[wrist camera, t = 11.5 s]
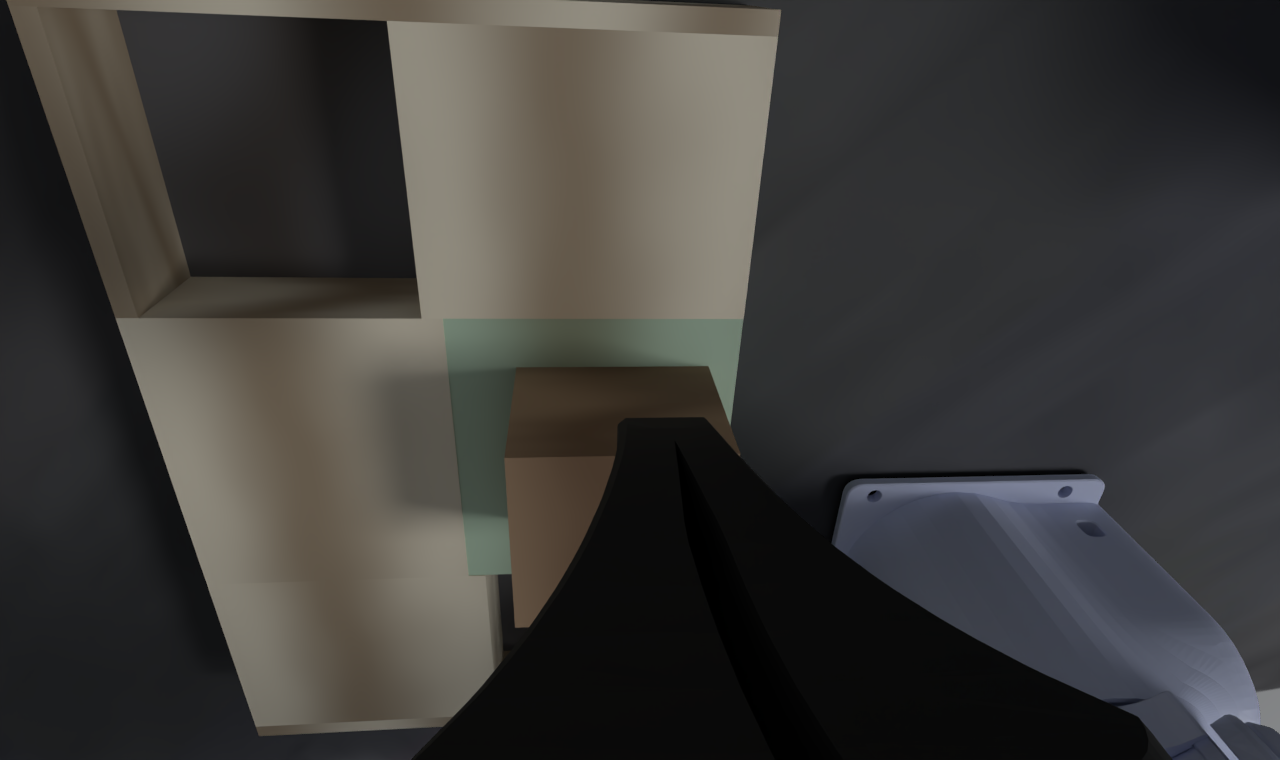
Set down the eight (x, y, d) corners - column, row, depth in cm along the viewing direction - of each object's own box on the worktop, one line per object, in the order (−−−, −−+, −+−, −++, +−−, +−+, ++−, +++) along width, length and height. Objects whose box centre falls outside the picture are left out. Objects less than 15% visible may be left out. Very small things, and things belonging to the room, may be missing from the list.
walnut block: (708, 366, 19) (740, 453, 15) (694, 514, 21) (718, 619, 18) (516, 367, 18) (504, 457, 15) (523, 519, 21) (515, 627, 17)
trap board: (749, 5, 17) (780, 10, 15) (683, 645, 28) (695, 713, 26) (90, -25, 16) (-3, -26, 13) (288, 662, 27) (258, 736, 24)
